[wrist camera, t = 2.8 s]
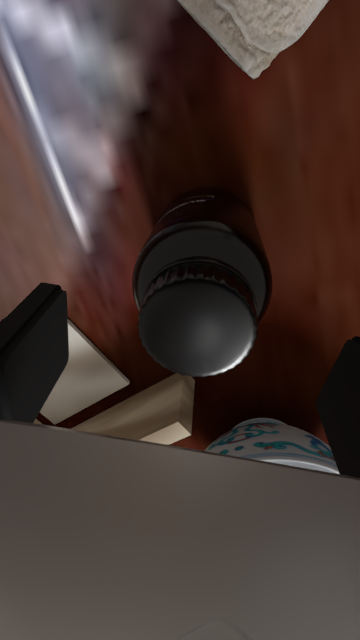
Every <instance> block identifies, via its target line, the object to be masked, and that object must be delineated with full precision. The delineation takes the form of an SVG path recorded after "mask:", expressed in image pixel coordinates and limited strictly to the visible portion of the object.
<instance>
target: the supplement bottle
mask: <svg viewBox="0 0 360 640" xmlns="http://www.w3.org/2000/svg"><path fill="white" fill-rule="evenodd" d="M132 289H133V296H134V300H135V303H136V306H137V308H138V310H139V313H138V318H139V321H138V324H137V326H138V329H139V337H140V338H141V340H142V345H143V346H144V347H145V348H146V350H147V353H148V354H149V355H151V356H152V357H153V359H154V361H156V362H158V363H160V365H161V366H162V367H164V368H167V369H169V370H170V371H171V372H175V373H179V374H180V375H188V376H191V377H197V376H199V377H207V376H215V375H217V374H221V373H225V372H227V371H228V370H231V369H234V368H235V367H236V365H238V364H240V363H242V362H243V360H244V358H245V357H247V356H248V355H249V353H250V350H251V349H252V348H253V347H254V341H255V339H256V338H257V335H258V334H257V328H258V323H259V322H260V320H261V319H262V317H263V316H264V314H265V312H266V310H267V308H268V305H269V302H270V299H271V294H272V275H271V269H270V265H269V262H268V259H267V256H266V253H265V250H264V247H263V244H262V241H261V238H260V235H259V232H258V229H257V226H256V223H255V221H254V219H253V216H252V214H251V212H250V211H249V209H248V208H247V207H246V205H245V204H244V203H243V202H242V201H241V200H240V199H239V198H237V197H236V196H234V195H233V194H231V193H229V192H227V191H224V190H221V189H217V188H197V189H193V190H190V191H188V192H185V193H183V194H182V195H180V196H178V197H177V198H176V199H174V200H173V201H172V202H171V203H170V204H169V205H168V206H167V208H166V209H165V210H164V212H163V213H162V215H161V217H160V218H159V220H158V222H157V224H156V225H155V227H154V229H153V231H152V232H151V234H150V236H149V238H148V239H147V241H146V243H145V244H144V246H143V248H142V250H141V252H140V254H139V256H138V258H137V261H136V264H135V267H134V271H133V277H132Z"/></svg>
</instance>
